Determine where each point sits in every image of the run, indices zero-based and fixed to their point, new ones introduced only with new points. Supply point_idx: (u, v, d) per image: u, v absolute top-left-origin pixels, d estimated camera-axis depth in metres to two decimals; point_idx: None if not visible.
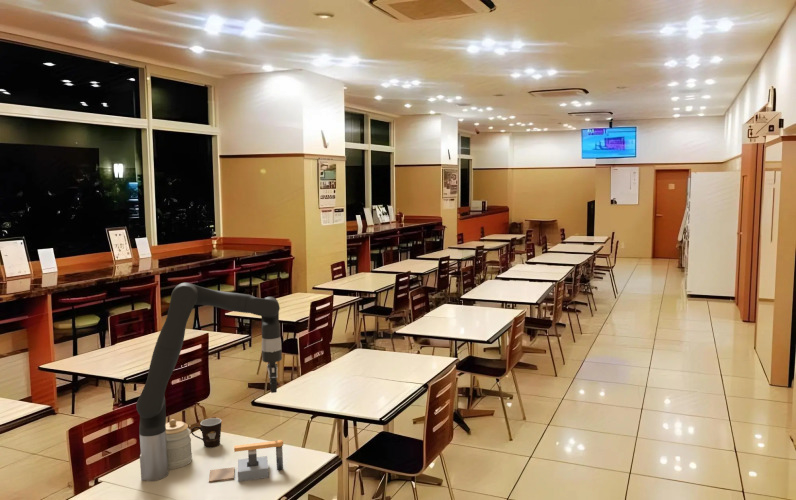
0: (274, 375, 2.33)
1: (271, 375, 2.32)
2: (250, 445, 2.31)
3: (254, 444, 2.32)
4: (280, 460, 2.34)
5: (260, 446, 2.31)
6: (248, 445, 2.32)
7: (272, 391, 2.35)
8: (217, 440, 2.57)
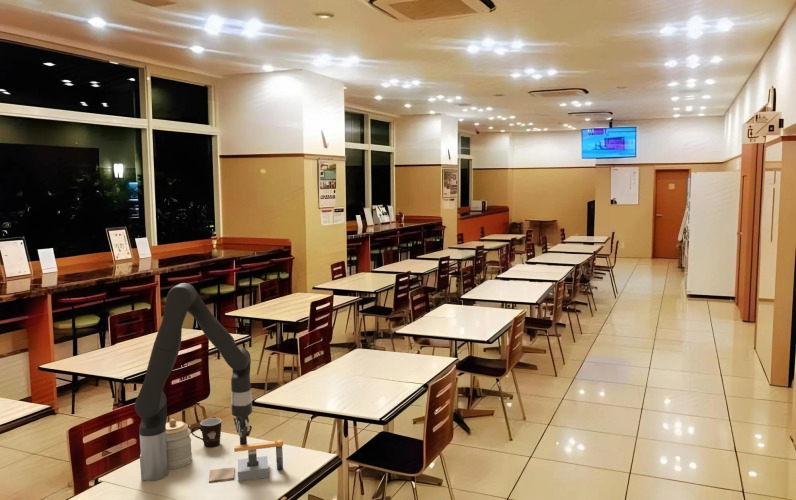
0: (248, 432, 2.29)
1: (245, 433, 2.29)
2: (250, 445, 2.31)
3: (254, 444, 2.32)
4: (280, 460, 2.34)
5: (260, 446, 2.31)
6: (248, 445, 2.32)
7: None
8: (217, 440, 2.57)
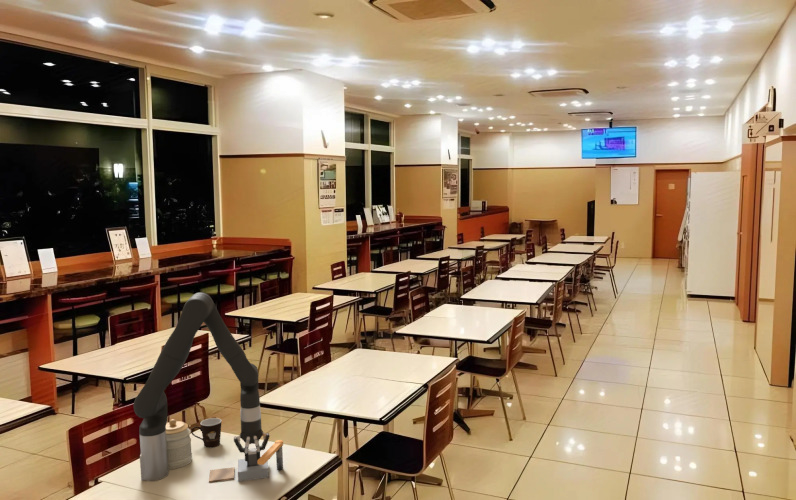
0: None
1: None
2: (268, 453, 2.24)
3: (269, 452, 2.25)
4: (280, 460, 2.34)
5: (274, 450, 2.27)
6: (265, 454, 2.23)
7: None
8: (217, 440, 2.57)
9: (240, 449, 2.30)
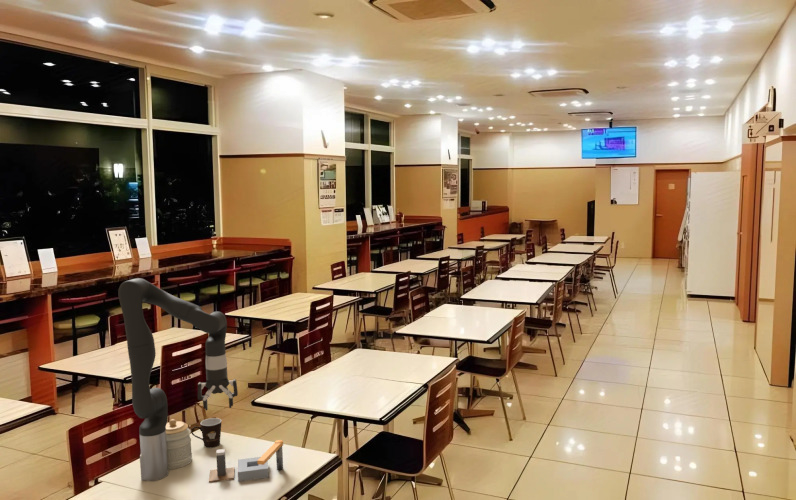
0: None
1: (236, 387, 2.29)
2: (268, 453, 2.24)
3: (269, 452, 2.25)
4: (280, 460, 2.34)
5: (274, 450, 2.27)
6: (265, 454, 2.23)
7: (232, 405, 2.29)
8: (217, 440, 2.57)
9: (199, 396, 2.25)
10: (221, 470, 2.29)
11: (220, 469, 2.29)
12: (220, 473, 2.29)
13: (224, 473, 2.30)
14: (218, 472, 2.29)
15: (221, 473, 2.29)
